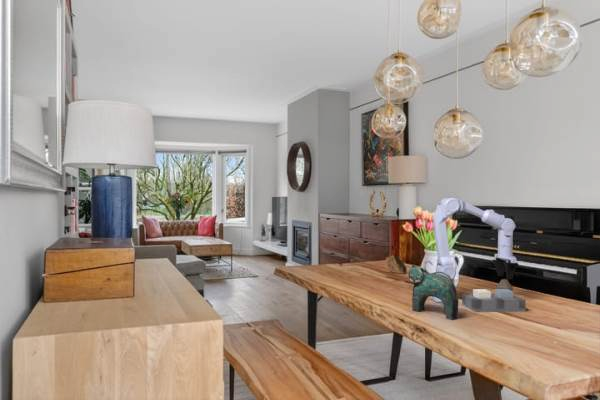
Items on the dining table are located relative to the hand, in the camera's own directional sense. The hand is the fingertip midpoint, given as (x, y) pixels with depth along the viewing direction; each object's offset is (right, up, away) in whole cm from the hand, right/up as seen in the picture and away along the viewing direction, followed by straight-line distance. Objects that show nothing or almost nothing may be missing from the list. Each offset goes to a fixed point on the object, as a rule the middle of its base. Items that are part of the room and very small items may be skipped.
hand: (504, 277), depth 189 cm
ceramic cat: (-37, -10, -22) cm, 45 cm away
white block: (-15, -7, -13) cm, 21 cm away
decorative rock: (-31, -10, +71) cm, 78 cm away
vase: (+1, -10, +2) cm, 11 cm away
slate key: (-6, -7, -12) cm, 15 cm away
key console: (-11, -10, -12) cm, 19 cm away
